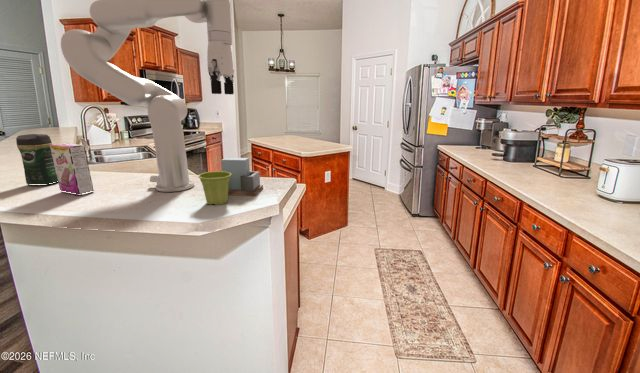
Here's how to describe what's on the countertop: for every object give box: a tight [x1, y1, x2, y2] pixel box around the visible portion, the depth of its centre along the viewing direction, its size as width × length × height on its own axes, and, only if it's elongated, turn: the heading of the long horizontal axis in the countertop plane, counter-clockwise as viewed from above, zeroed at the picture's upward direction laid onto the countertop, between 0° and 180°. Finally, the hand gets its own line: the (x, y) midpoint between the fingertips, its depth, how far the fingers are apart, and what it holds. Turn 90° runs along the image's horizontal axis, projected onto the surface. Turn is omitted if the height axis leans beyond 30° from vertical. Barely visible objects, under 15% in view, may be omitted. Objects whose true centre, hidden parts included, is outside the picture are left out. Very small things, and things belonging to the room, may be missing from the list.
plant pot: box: [198, 170, 231, 206], centre depth 98 cm, size 9×9×9 cm
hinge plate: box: [228, 184, 264, 197], centre depth 111 cm, size 15×9×1 cm, turn 85°
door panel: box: [220, 157, 251, 190], centre depth 109 cm, size 8×4×10 cm, turn 85°
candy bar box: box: [49, 142, 95, 194], centre depth 108 cm, size 11×5×16 cm, turn 65°
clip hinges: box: [240, 170, 261, 191], centre depth 110 cm, size 13×8×5 cm, turn 85°
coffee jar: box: [15, 133, 58, 185], centre depth 119 cm, size 10×8×19 cm
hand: (223, 94), depth 110 cm, fingers open, 9 cm apart
